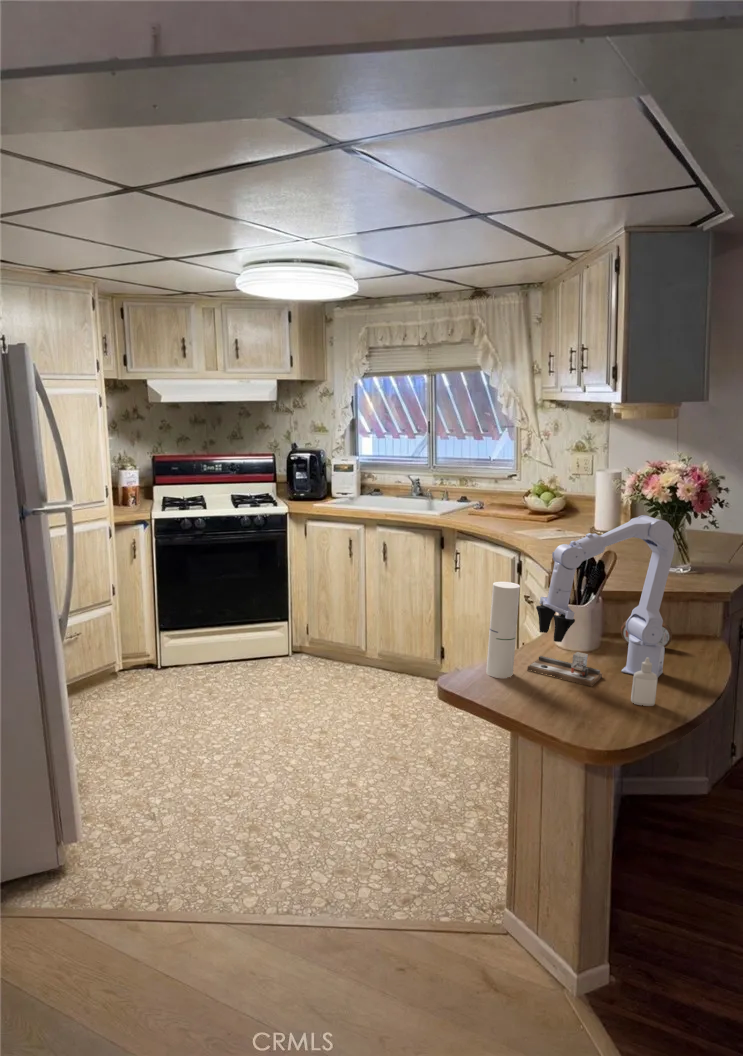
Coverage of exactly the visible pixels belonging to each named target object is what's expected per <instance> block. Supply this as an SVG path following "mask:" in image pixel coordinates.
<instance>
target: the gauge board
mask: <svg viewBox="0 0 743 1056" xmlns="http://www.w3.org/2000/svg"><path fill="white" fill-rule="evenodd" d="M571 665H572V662H568V661H563V660H560V659H555V658H552V657H551V658H550V657H548V656H547V657H546V656H543V655H540V656H538V659H536V660H535V661H533V662H532V663H531V664H529V665H527V671H528V670H532V671H536V672H539V673H543V674H547V675H552V676H555V677H558V678H557V679H559V678H562V679H561V680H563V679H564V681H567V680H568V681H567V682H571V681H572V683H575V682H576V683H575V684H579V683H580V685H583V684H584V685H583V686H587V685H588V686H587V687H592V686H594V685H595V684H596V683H597V682H598V681H599V680H600V679H602V678H603V673H602V672H601V669H597V668H592V667H588V666H587V667H585V666H584V668H583V670H582V671H580V670H576V669H574V673H571V668H572V667H571ZM532 671H531V672H532ZM539 673H538V674H539ZM543 674H542V675H543ZM547 675H546V676H547ZM555 677H554V678H555Z"/></svg>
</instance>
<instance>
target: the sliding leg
mask: <svg viewBox="0 0 743 1056" xmlns="http://www.w3.org/2000/svg"><path fill="white" fill-rule="evenodd" d="M588 655H589V654H588V653H585V652H584V653H583V652H579V651H576V652H575V653H573V655H572V662H571V663H572V665H571V667H572V668H571V673H574V669H576V670H580V671H582V670H583V668H584V666H585V667H588V666H587V665H588V657H589V656H588Z"/></svg>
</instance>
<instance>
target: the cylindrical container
mask: <svg viewBox="0 0 743 1056" xmlns="http://www.w3.org/2000/svg"><path fill="white" fill-rule="evenodd" d="M520 590H521V586H520V584H518V583H515V582H511V581H496V582H495V581H494V582H493V583H492V591H491V592H492V593H491V606H490V618H489V619H490V620H489V632H488V633H489V634H488V643H487V659H486V670H485V671H486V675H488V676H490V677H492V678H495V679H508V678H507V677H510V676H512V675H514V663H515V649H516V637H517V627H518V616H519V615H518V613H519V603H520V602H519V600H520ZM512 677H513V676H512ZM510 678H511V677H510Z"/></svg>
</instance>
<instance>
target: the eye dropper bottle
mask: <svg viewBox="0 0 743 1056" xmlns="http://www.w3.org/2000/svg"><path fill="white" fill-rule="evenodd" d="M651 670H652V663H650V662H649V658H646V660H645V662H642V667H641V671H637V672H635V673H634V675H633V677H632V686H631V694H630V695H631V696H630V702H631V703H632V704H633V703H634V705H638V706H642V705H643V707H653V706H655V703H656V698H657V697H656V696H657V687H658V678H657V676H656V674H654V673H652V672H651Z"/></svg>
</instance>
